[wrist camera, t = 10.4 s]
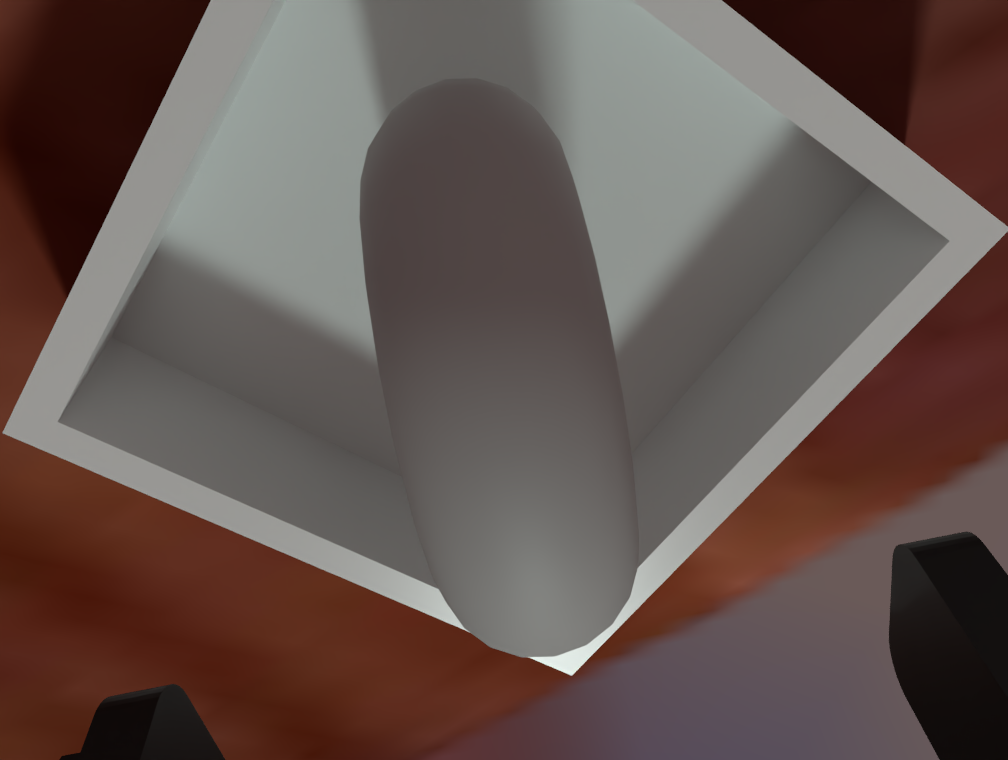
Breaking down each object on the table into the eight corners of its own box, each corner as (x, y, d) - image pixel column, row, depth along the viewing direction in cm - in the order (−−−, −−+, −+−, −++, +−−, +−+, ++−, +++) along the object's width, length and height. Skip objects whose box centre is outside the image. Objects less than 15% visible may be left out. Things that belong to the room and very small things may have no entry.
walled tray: (78, 326, 22) (2, 432, 18) (371, -263, 16) (351, -294, 12) (551, 553, 26) (571, 675, 23) (904, 155, 21) (1009, 228, 17)
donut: (590, 423, 23) (682, 773, 14) (456, 447, 23) (469, 809, 15) (529, 8, 18) (615, 171, 9) (356, 42, 18) (284, 233, 9)
